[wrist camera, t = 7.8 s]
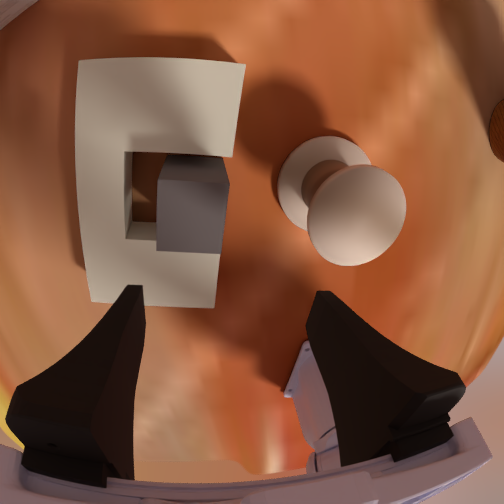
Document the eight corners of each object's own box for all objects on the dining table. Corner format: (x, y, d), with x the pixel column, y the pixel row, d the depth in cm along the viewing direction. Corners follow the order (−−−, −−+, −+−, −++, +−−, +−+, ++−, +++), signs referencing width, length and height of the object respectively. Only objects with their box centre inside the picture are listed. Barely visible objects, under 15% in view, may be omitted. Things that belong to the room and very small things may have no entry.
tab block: (216, 215, 21) (221, 254, 17) (164, 212, 21) (156, 251, 16) (222, 158, 19) (229, 183, 15) (167, 154, 19) (157, 179, 14)
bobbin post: (355, 232, 24) (390, 273, 19) (268, 225, 22) (288, 271, 18) (380, 146, 20) (427, 171, 16) (287, 127, 19) (317, 147, 14)
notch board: (212, 286, 24) (214, 308, 22) (99, 281, 23) (91, 301, 20) (240, 65, 16) (245, 64, 14) (93, 61, 15) (78, 60, 12)
